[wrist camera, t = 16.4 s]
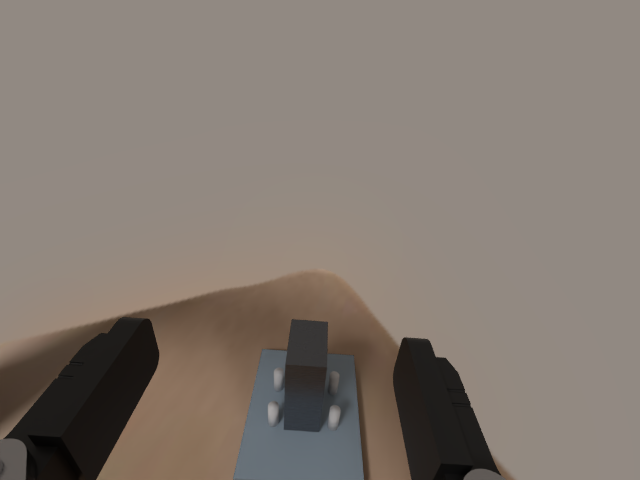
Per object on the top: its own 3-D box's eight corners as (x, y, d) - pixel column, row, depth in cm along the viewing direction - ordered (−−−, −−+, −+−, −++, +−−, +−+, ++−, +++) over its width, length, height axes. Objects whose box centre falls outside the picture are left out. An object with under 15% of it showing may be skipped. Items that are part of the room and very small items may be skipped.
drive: (283, 429, 36) (285, 364, 31) (289, 382, 41) (291, 318, 36) (319, 432, 36) (327, 367, 31) (320, 384, 41) (327, 321, 36)
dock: (234, 485, 32) (231, 462, 30) (262, 356, 46) (261, 333, 44) (362, 493, 33) (368, 471, 30) (352, 362, 46) (356, 340, 44)
